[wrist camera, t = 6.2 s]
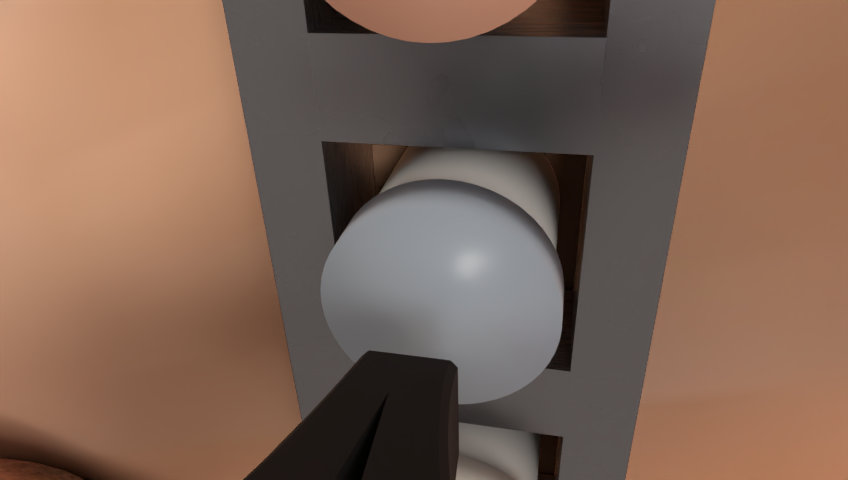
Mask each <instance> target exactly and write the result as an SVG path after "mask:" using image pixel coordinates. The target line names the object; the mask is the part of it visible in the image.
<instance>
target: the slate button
mask: <svg viewBox="0 0 848 480" xmlns="http://www.w3.org/2000/svg"><path fill="white" fill-rule="evenodd" d="M559 211H560V191H559V184H558V181H557V178H556V174H555V172H554V170H553V168H552V166H551V164H550V162H549V161H548V159H547V158H546V156H545V155H544V154H543V153H540V152H520V151H501V150H482V149H462V148H443V147H424V146H408V147H407V149H406V150H405V152H404V153H403V155H402V156H401V158H400V159H399V161H398V163H397V164H396V166H395V168H394V169H393V171H392V173H391V174H390V176H389V178H388V179H387V181H386V183H385V184H384V186H383V188H382V189H381V191H380V193H379V194H378V195H377V196H375V197H373V198H372V199H371V200H369V201H368V202H367V203H366V204H364V205H363V206H362V207H361V208H360V209H359V211H358V212H357V213H356V214H355V215H354V216H353V218H352V219H351V221H350V222H349V224H348V225H347V227H346V229H345V230H344V232H343V233H342V235H341V236H340V238H339V240H338V241H337V243H336V244H335V246H334V248H333V249H332V251H331V252H330V254H329V256H328V258H327V261H326V263H325V265H324V269H323V273H322V277H321V289H320V291H321V303H322V307H323V312H324V316H325V318H326V321H327V324H328V326H329V328H330V330H331V332H332V334H333V336H334V338H335V339H336V341H337V342H338V344H339V345H340V347H341V348H342V349H343V351H344V352H345V353H346V354H347V355H348V356H349V357H350V359H351V360H352V361H354V362H355V363H356V362H357V361H358V360H359V358H360V357H361V356H362V355H363V354H365V353H366V352H367V351H369V350H371V351H379V352H388V353H396V354H404V355H412V356H420V357H428V358H436V359H444V360H451V361H452V362H453V363H454V364H455V365H456V366H457V367H458V404H474V403H482V402H487V401H491V400H496V399H499V398H502V397H504V396H507V395H510V394H512V393H514V392H516V391H518V390H520V389H521V388H523V387H524V386H526V385H527V384H529V383H530V382H532V381H533V380H534V379H535V378H536V377H537V376H538V375H539V374H541V373H542V371H543V370H544V369H545V368H546V366H547V365H548V364H549V362H550V361H551V359H552V357H553V355H554V354H555V352H556V349H557V346H558V344H559V341H560V336H561V331H562V320H563V302H564V277H563V270H562V266H561V263H560V259H559V256H558V254H557V252H556V248H557V236H558V223H559Z"/></svg>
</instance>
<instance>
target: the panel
mask: <svg viewBox="0 0 848 480" xmlns="http://www.w3.org/2000/svg"><path fill="white" fill-rule="evenodd" d="M715 1H716V0H537V1H536V2H535V3H533V4H532V5H531V6H530V7H529V8H528V9H527V10H525V11H524V12H522V13H521V14H519V15H518V16H516V17H515V18H513V19H512V20H510V21H509V22H507V23H505V24H503V25H501V26H499V27H497V28H495V29H493V30H491V31H489V32H486V33H483V34H480V35H477V36H474V37H471V38H468V39H462V40H457V41H452V42H441V43H421V42H409V41H404V40H400V39H395V38H391V37H387V36H385V35H382V34H379V33H376V32H374V31H371V30H369V29H367V28H365V27H363V26H361V25H359V24H357V23H355V22H353V21H352V20H350V19H349V18H347V17H346V16H344V15H343V14H341V13H340V12H338V11H337V10H336V9H334V8H333V7H332V6H331V5H330V4H329V3H327V2H326V1H325V0H222V2H223V7H224V12H225V18H226V23H227V28H228V33H229V39H230V44H231V49H232V54H233V60H234V65H235V70H236V76H237V81H238V86H239V91H240V97H241V102H242V107H243V112H244V118H245V123H246V128H247V134H248V139H249V144H250V149H251V155H252V160H253V165H254V170H255V176H256V181H257V186H258V192H259V197H260V202H261V207H262V213H263V218H264V223H265V228H266V234H267V239H268V244H269V250H270V255H271V260H272V265H273V271H274V276H275V281H276V286H277V292H278V297H279V302H280V308H281V313H282V318H283V323H284V329H285V334H286V339H287V344H288V350H289V355H290V360H291V366H292V371H293V376H294V381H295V387H296V392H297V397H298V402H299V408H300V413H301V418H302V421H303V420H304V419H305V418H306V417H307V416H308V415H309V414H310V413H311V411H312V410H313V409H314V408H315V407H316V406H317V405H318V404H319V403H320V402H321V401H322V400H323V399H324V398H325V396H326V395H327V394H328V393H329V392H330V391H331V390H332V389H333V388H334V387H335V385H336V384H337V383H338V382H339V381H340V380H341V379H342V378H343V376H344V375H345V374H346V373H347V372H348V371H349V370H350V369H351V367H352V366H353V365H354V364H355V362H354V361H352V360H351V359H350V357H349V356H348V355H347V354H346V353H345V352H344V351H343V349H342V348H341V347H340V345H339V344H338V342H337V341H336V339H335V338H334V336H333V334H332V332H331V330H330V328H329V326H328V324H327V321H326V318H325V316H324V312H323V307H322V303H321V291H320V289H321V277H322V273H323V269H324V265H325V263H326V261H327V258H328V256H329V254H330V252H331V251H332V249H333V248H334V246H335V244H336V243H337V241H338V240H339V238H340V236H341V235H342V233H343V232H344V230H345V229H346V227H347V225H348V224H349V222H350V221H351V219H352V218H353V216H354V215H355V214H356V213H357V212H358V211H359V209H360V208H361V207H362V206H363V205H364V204H366V203H367V202H368V201H369V200H371V199H372V198H373V197H375V196H376V192H375V180H374V168H373V156H372V145H371V144H385V145H404V146H424V147H443V148H462V149H482V150H501V151H520V152H540V153H559V154H578V155H587V161H586V170H585V180H584V190H583V200H582V209H581V219H580V229H579V239H578V248H577V258H576V268H575V278H574V287H573V290H564V302H563V320H562V331H561V336H560V341H559V344H558V346H557V349H556V352H555V354H554V355H553V357H552V359H551V361H550V362H549V364H548V365H547V366H546V368H545V369H544V370H543V371H542V373H541V374H539V375H538V376H537V377H536V378H535V379H534V380H533V381H532V382H530V383H529V384H527V385H526V386H524V387H523V388H521V389H520V390H518V391H516V392H514V393H512V394H510V395H507V396H504V397H502V398H499V399H496V400H491V401H487V402H482V403H474V404H458V413H459V422H460V423H467V424H474V425H482V426H489V427H496V428H503V429H510V430H518V431H525V432H532V433H539V434H547V435H554V436H558V443H557V453H556V463H555V473H554V475H550V474H543V473H538V478H537V480H625V477H626V472H627V467H628V461H629V456H630V451H631V445H632V440H633V435H634V429H635V424H636V419H637V414H638V408H639V403H640V398H641V392H642V387H643V382H644V377H645V371H646V366H647V361H648V355H649V350H650V345H651V340H652V334H653V329H654V324H655V318H656V313H657V308H658V302H659V297H660V292H661V287H662V281H663V276H664V271H665V265H666V260H667V255H668V250H669V244H670V239H671V234H672V228H673V223H674V218H675V213H676V207H677V202H678V197H679V191H680V186H681V181H682V175H683V170H684V165H685V160H686V154H687V149H688V144H689V138H690V133H691V128H692V123H693V117H694V112H695V107H696V101H697V96H698V91H699V85H700V80H701V75H702V70H703V64H704V59H705V54H706V48H707V43H708V38H709V33H710V27H711V22H712V17H713V11H714V6H715Z"/></svg>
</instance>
